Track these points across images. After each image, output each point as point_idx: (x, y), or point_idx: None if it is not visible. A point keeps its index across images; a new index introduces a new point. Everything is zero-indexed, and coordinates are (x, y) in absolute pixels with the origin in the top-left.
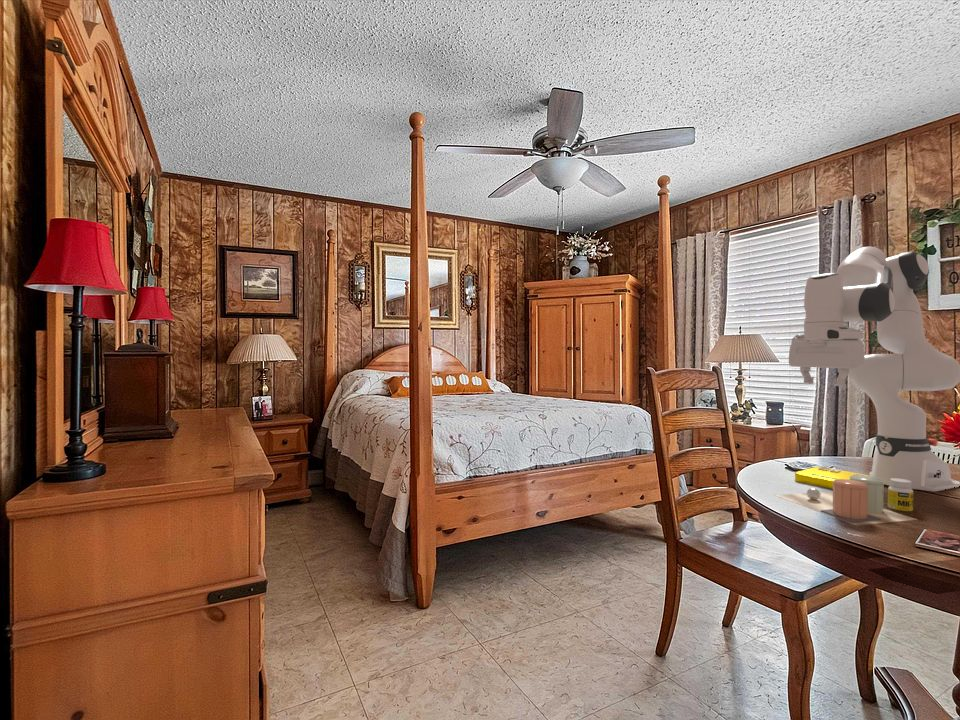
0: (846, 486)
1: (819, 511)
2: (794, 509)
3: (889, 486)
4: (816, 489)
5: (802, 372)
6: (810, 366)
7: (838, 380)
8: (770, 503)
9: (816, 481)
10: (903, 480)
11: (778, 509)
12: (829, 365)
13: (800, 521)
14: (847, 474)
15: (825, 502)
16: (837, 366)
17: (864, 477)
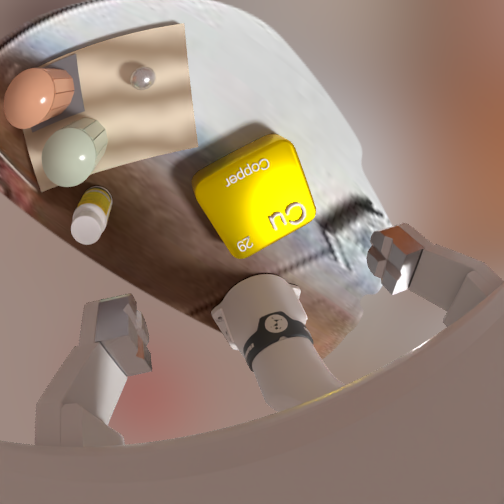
0: (12, 81)
1: (76, 51)
2: (127, 32)
3: (96, 210)
4: (138, 81)
5: (465, 261)
6: (453, 329)
7: (83, 334)
8: (170, 9)
9: (243, 154)
10: (84, 234)
11: (133, 5)
12: (148, 474)
13: (68, 14)
14: (254, 228)
15: (125, 91)
16: (37, 462)
17: (77, 161)
